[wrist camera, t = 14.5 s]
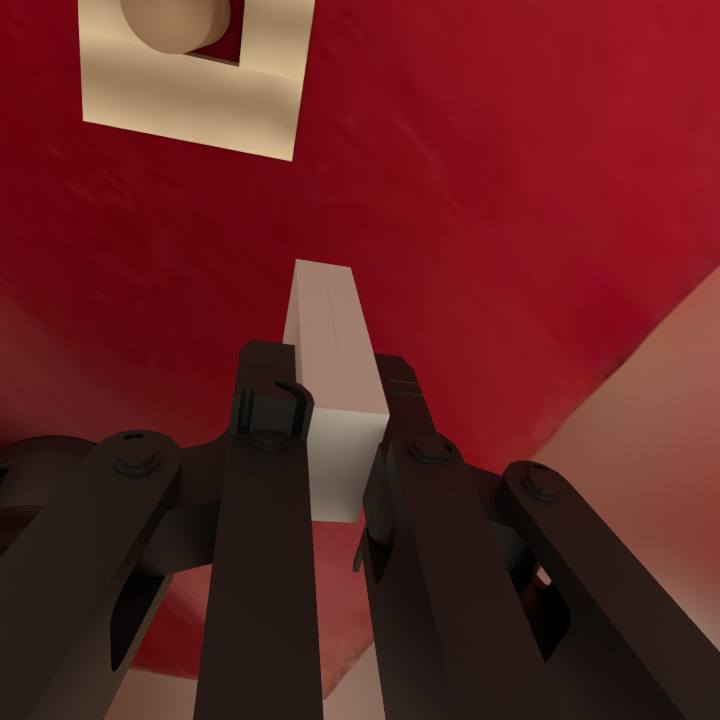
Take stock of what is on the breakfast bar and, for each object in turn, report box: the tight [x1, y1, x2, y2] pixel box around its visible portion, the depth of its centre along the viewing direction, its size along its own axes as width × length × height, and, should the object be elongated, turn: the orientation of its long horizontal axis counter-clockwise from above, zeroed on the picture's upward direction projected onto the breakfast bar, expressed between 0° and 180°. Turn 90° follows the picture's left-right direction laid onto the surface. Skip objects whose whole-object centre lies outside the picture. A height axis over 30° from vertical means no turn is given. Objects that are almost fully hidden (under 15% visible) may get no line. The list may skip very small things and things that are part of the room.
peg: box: [120, 0, 230, 54], centre depth 30 cm, size 4×4×14 cm
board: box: [78, 0, 315, 161], centre depth 35 cm, size 16×14×3 cm
